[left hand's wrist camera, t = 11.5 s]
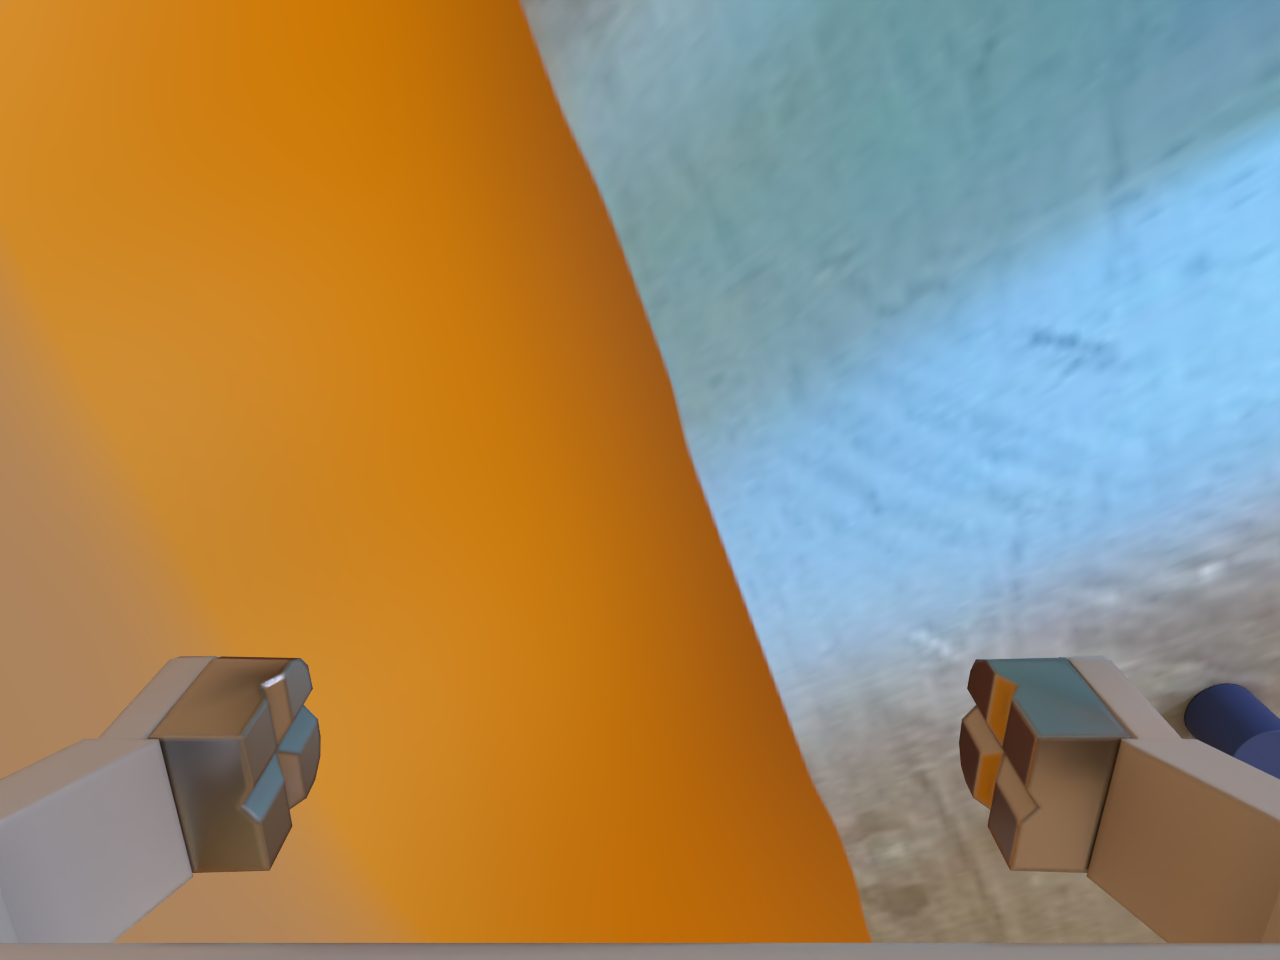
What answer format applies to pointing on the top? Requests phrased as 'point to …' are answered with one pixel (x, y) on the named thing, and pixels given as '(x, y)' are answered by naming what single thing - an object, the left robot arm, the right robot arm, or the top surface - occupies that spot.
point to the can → (1236, 726)
